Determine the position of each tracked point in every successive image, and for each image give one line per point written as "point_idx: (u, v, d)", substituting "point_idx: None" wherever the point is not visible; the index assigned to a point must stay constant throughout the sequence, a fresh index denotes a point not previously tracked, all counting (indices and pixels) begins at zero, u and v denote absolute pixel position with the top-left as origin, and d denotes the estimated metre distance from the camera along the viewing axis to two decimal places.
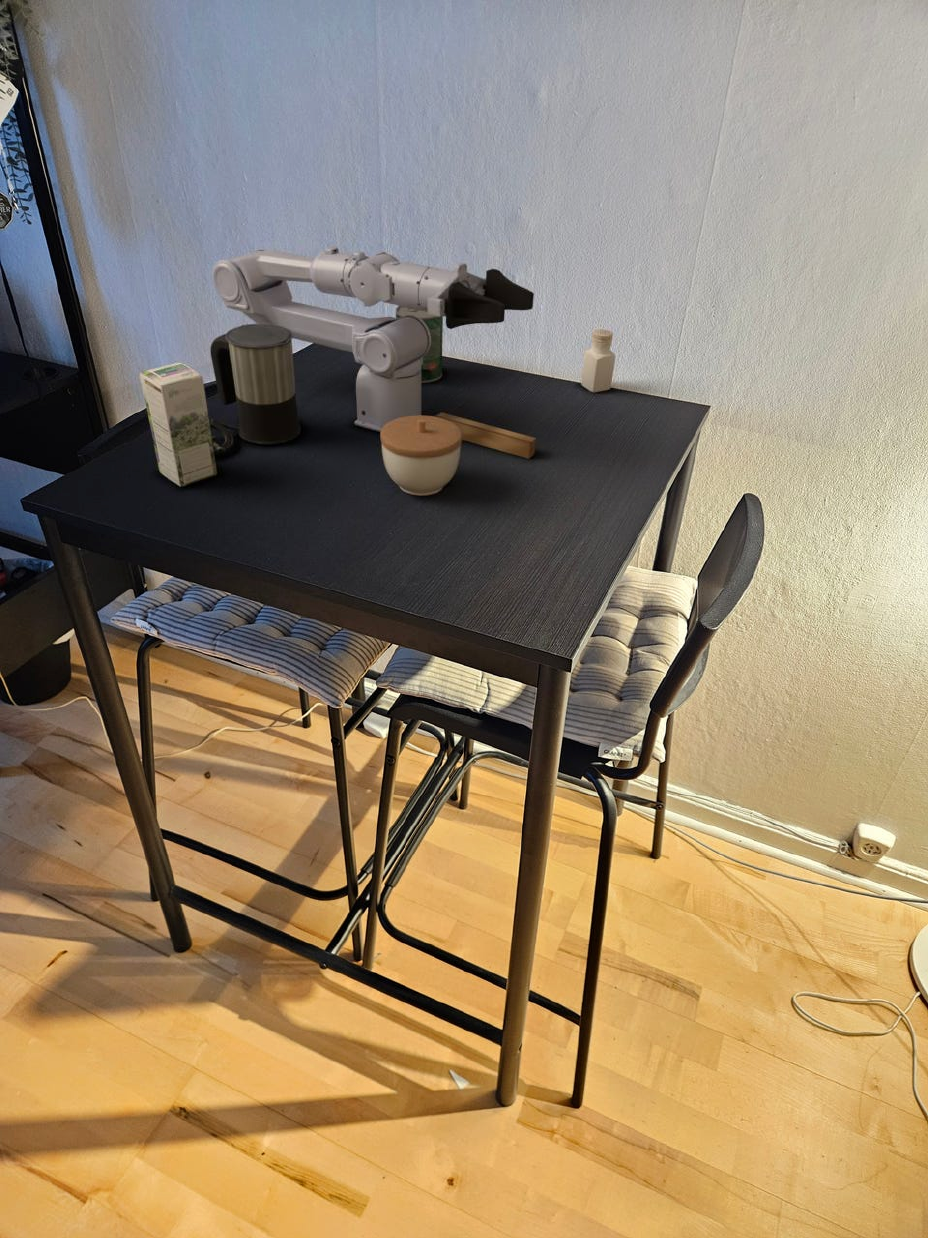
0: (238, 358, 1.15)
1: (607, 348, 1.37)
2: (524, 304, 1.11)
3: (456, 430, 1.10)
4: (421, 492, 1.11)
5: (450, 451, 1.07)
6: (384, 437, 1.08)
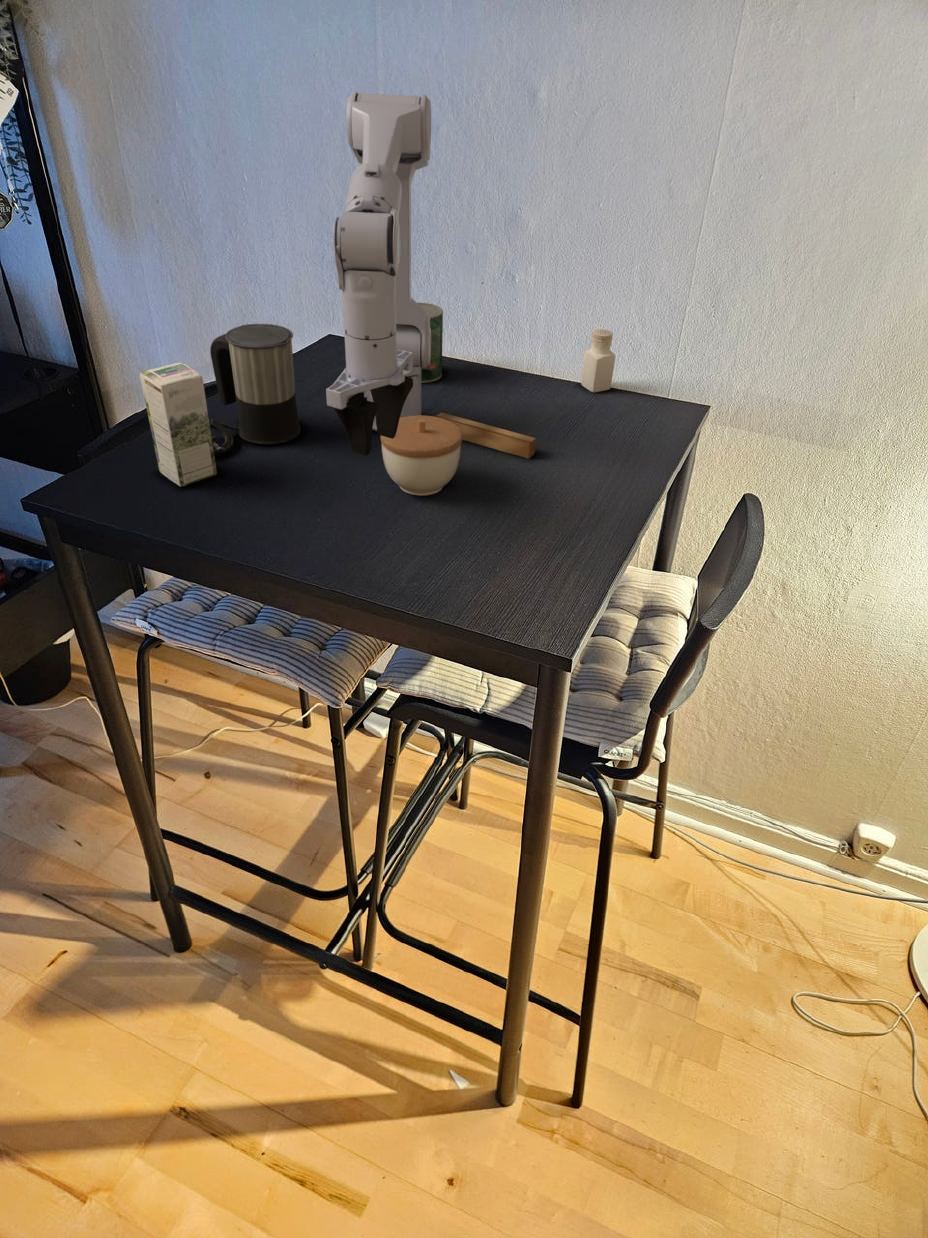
0: (238, 358, 1.14)
1: (607, 348, 1.37)
2: (381, 428, 1.02)
3: (456, 430, 1.10)
4: (421, 492, 1.11)
5: (450, 451, 1.07)
6: (384, 437, 1.08)
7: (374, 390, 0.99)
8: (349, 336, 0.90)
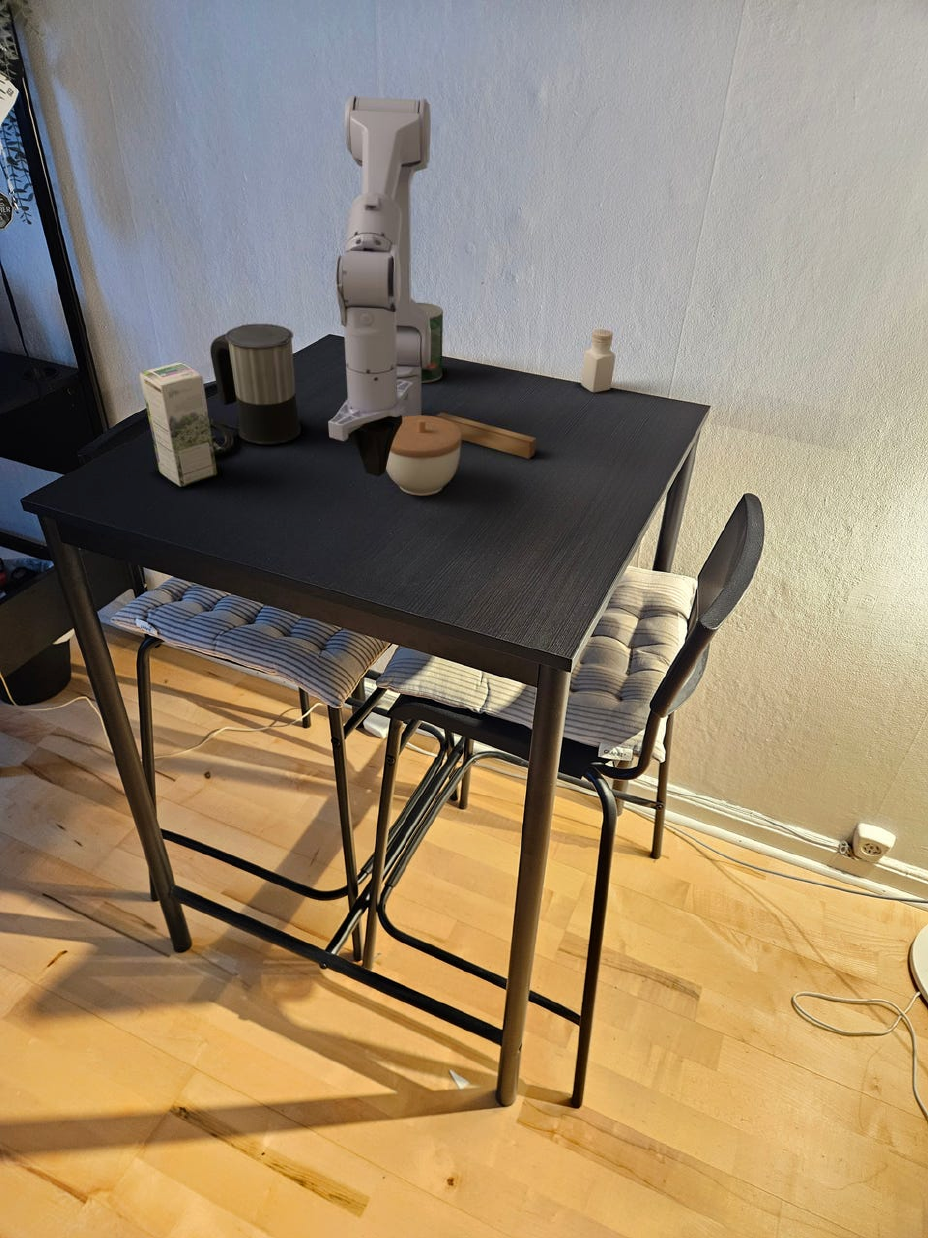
0: (238, 358, 1.14)
1: (607, 348, 1.37)
2: None
3: (456, 430, 1.10)
4: (421, 492, 1.11)
5: (450, 451, 1.07)
6: None
7: None
8: (351, 370, 0.93)
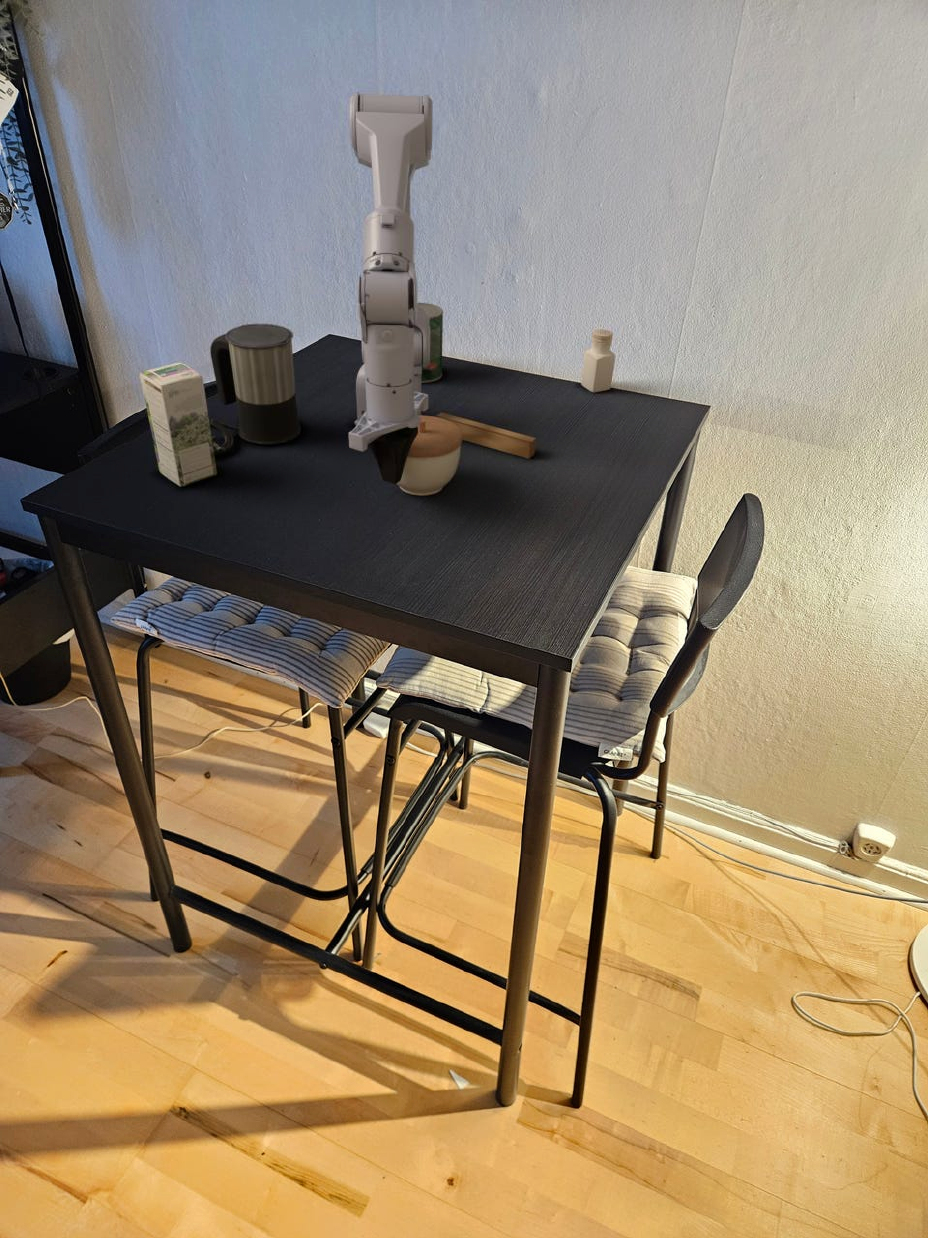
0: (238, 358, 1.14)
1: (607, 348, 1.37)
2: None
3: (456, 430, 1.10)
4: (421, 492, 1.11)
5: (450, 451, 1.07)
6: None
7: None
8: (370, 383, 0.97)
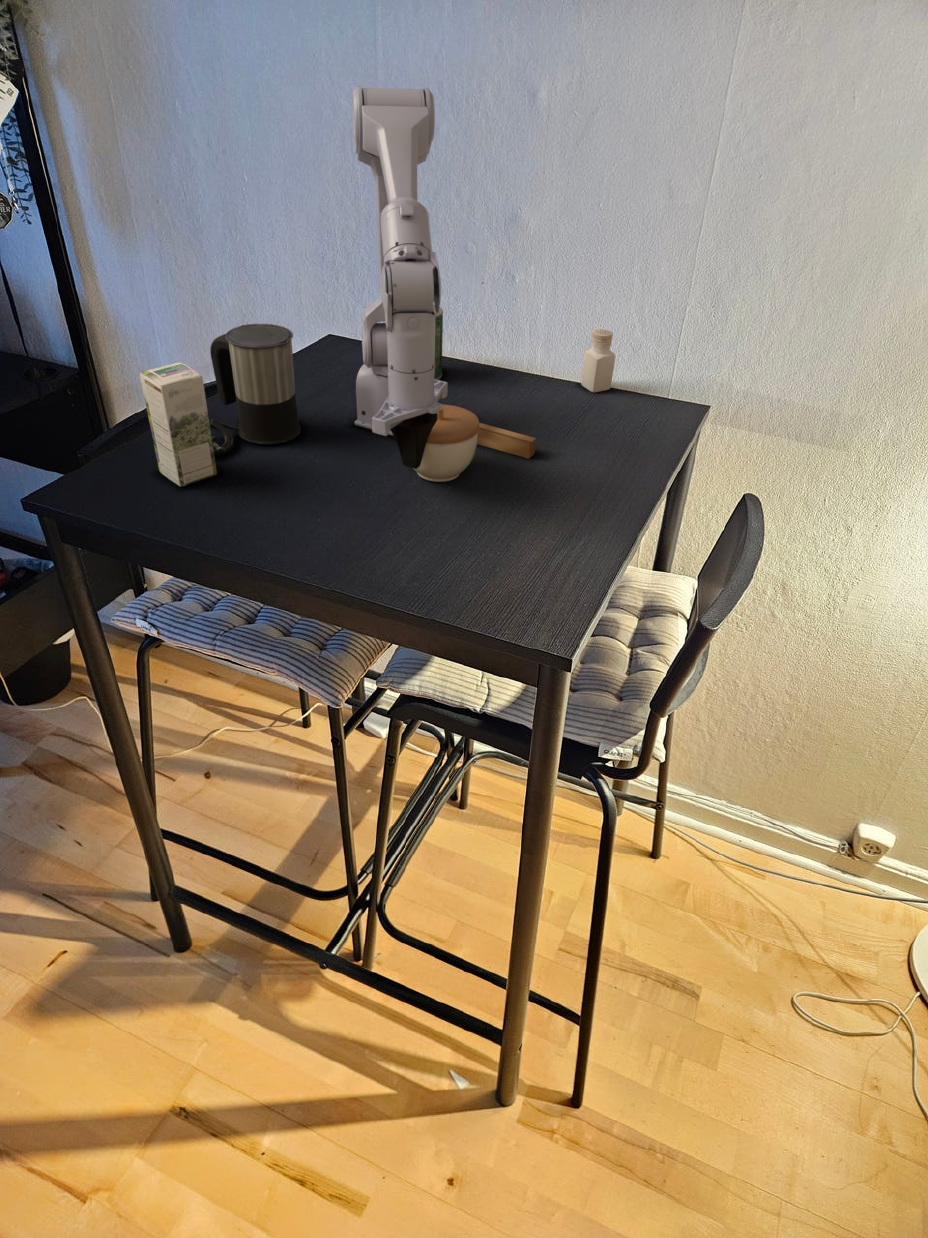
0: (238, 358, 1.14)
1: (607, 348, 1.37)
2: None
3: (473, 417, 1.13)
4: (439, 478, 1.14)
5: (468, 437, 1.10)
6: None
7: None
8: (393, 370, 1.00)
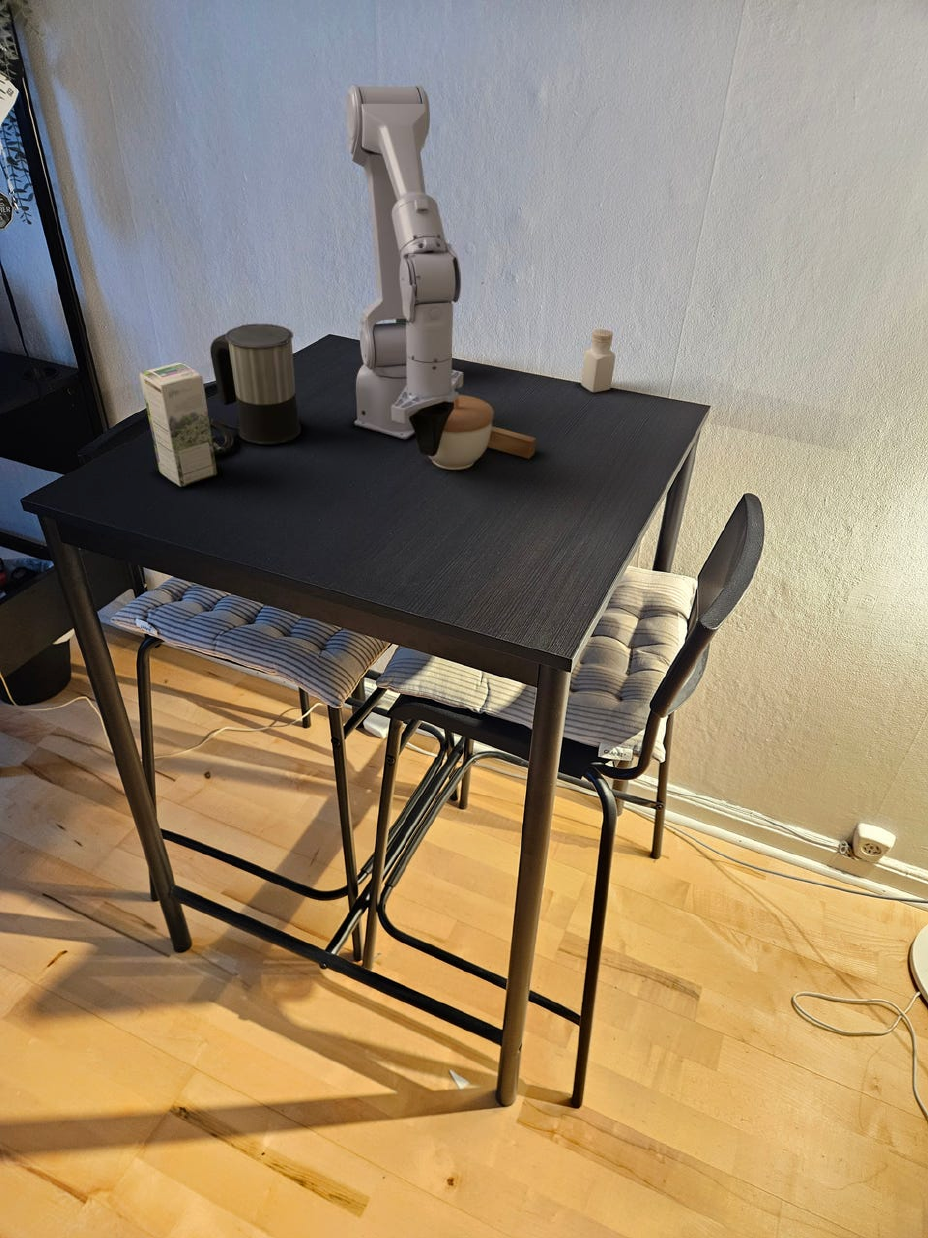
0: (238, 358, 1.14)
1: (607, 348, 1.37)
2: None
3: (488, 407, 1.16)
4: (454, 466, 1.17)
5: (483, 426, 1.13)
6: None
7: None
8: (411, 359, 1.03)
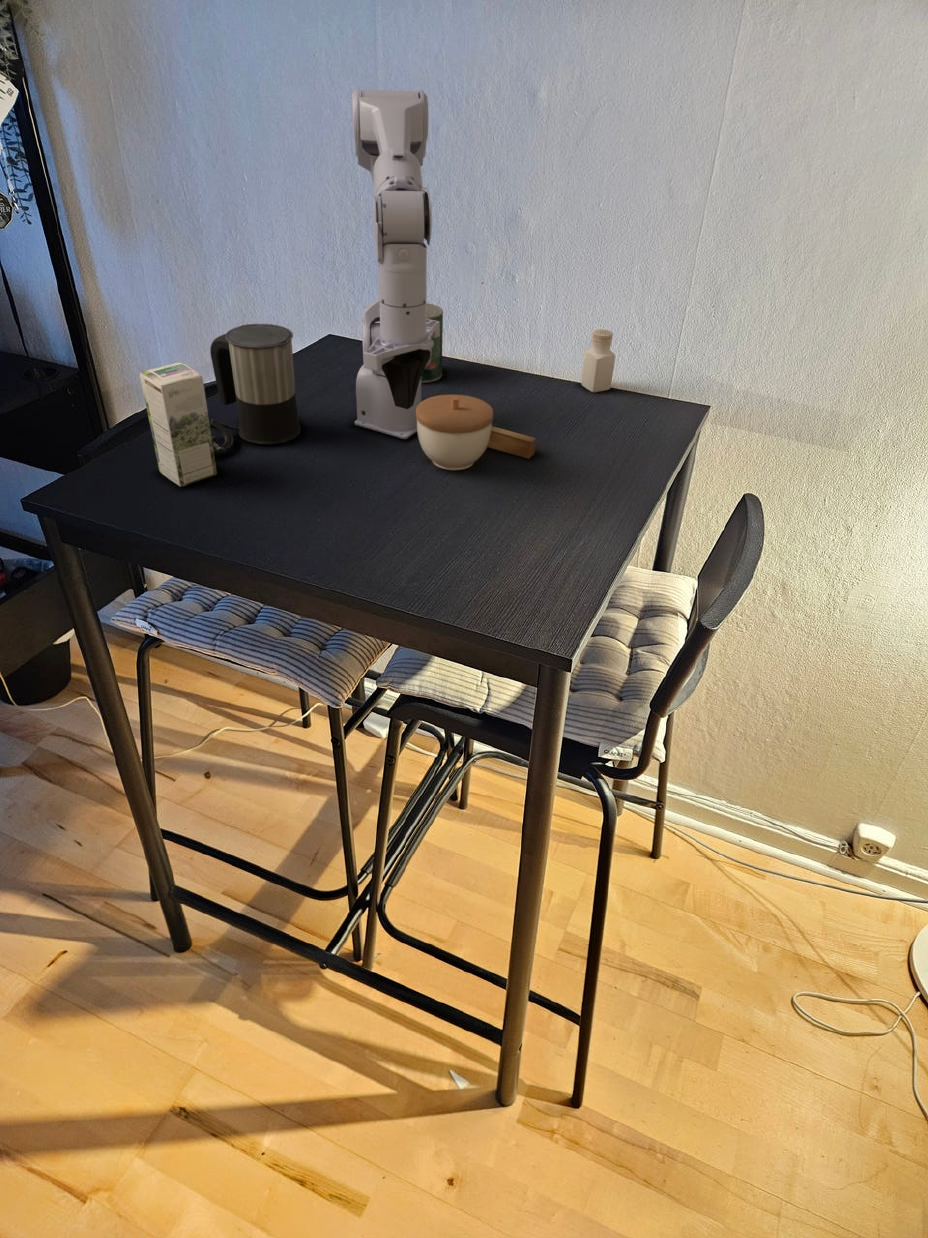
0: (238, 358, 1.14)
1: (607, 348, 1.37)
2: None
3: (488, 407, 1.16)
4: (454, 467, 1.17)
5: (483, 427, 1.13)
6: (420, 414, 1.14)
7: None
8: (384, 304, 0.99)
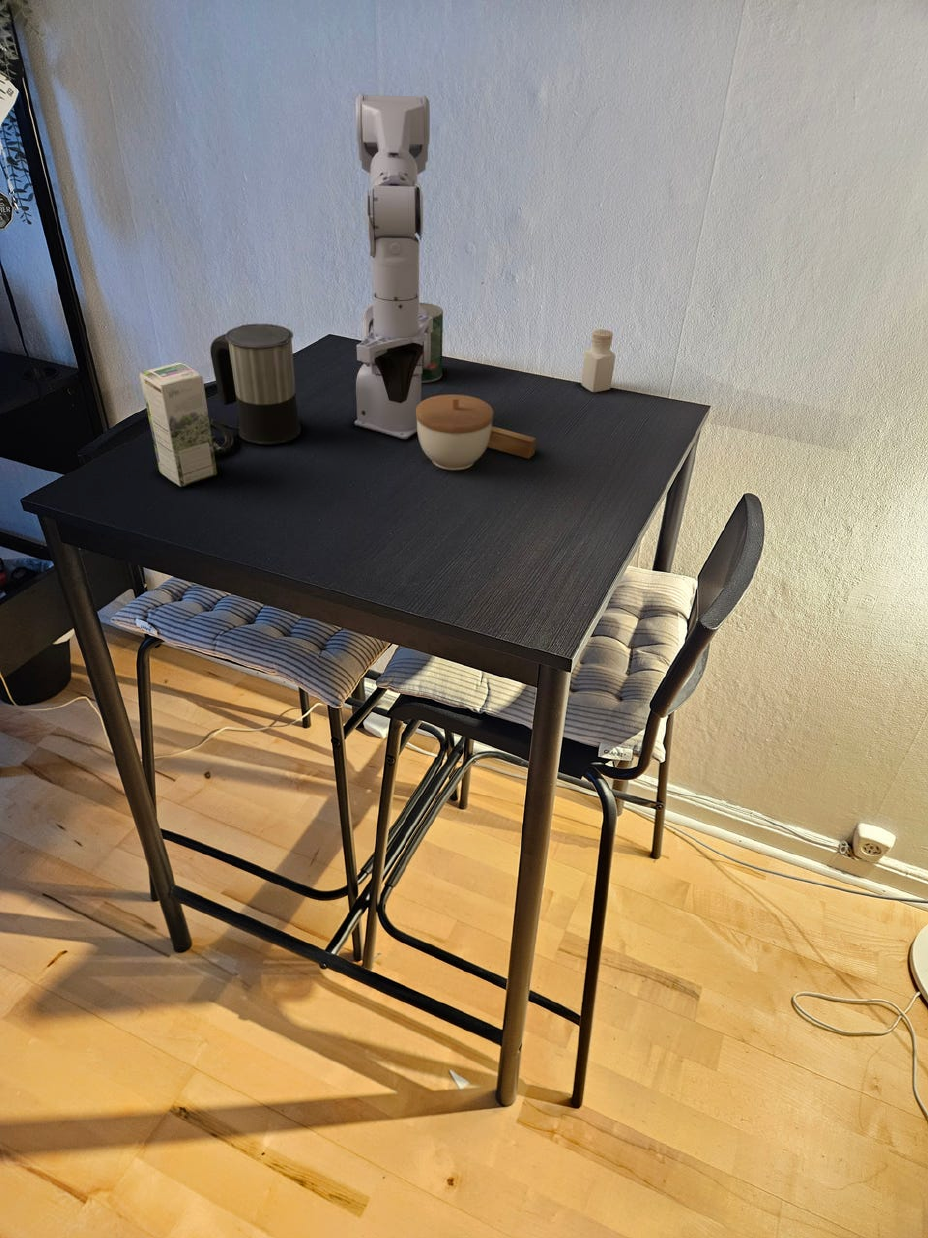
0: (238, 358, 1.15)
1: (607, 348, 1.37)
2: None
3: (488, 407, 1.16)
4: (454, 467, 1.17)
5: (483, 427, 1.13)
6: (420, 414, 1.14)
7: None
8: (377, 298, 1.01)
